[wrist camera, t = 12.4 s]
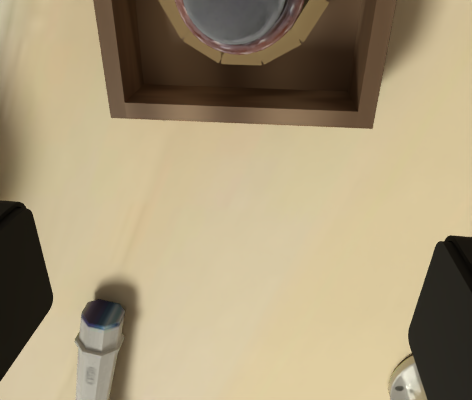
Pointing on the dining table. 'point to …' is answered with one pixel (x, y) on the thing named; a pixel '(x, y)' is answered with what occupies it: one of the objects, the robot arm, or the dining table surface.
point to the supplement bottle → (239, 22)
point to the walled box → (246, 66)
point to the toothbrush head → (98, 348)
